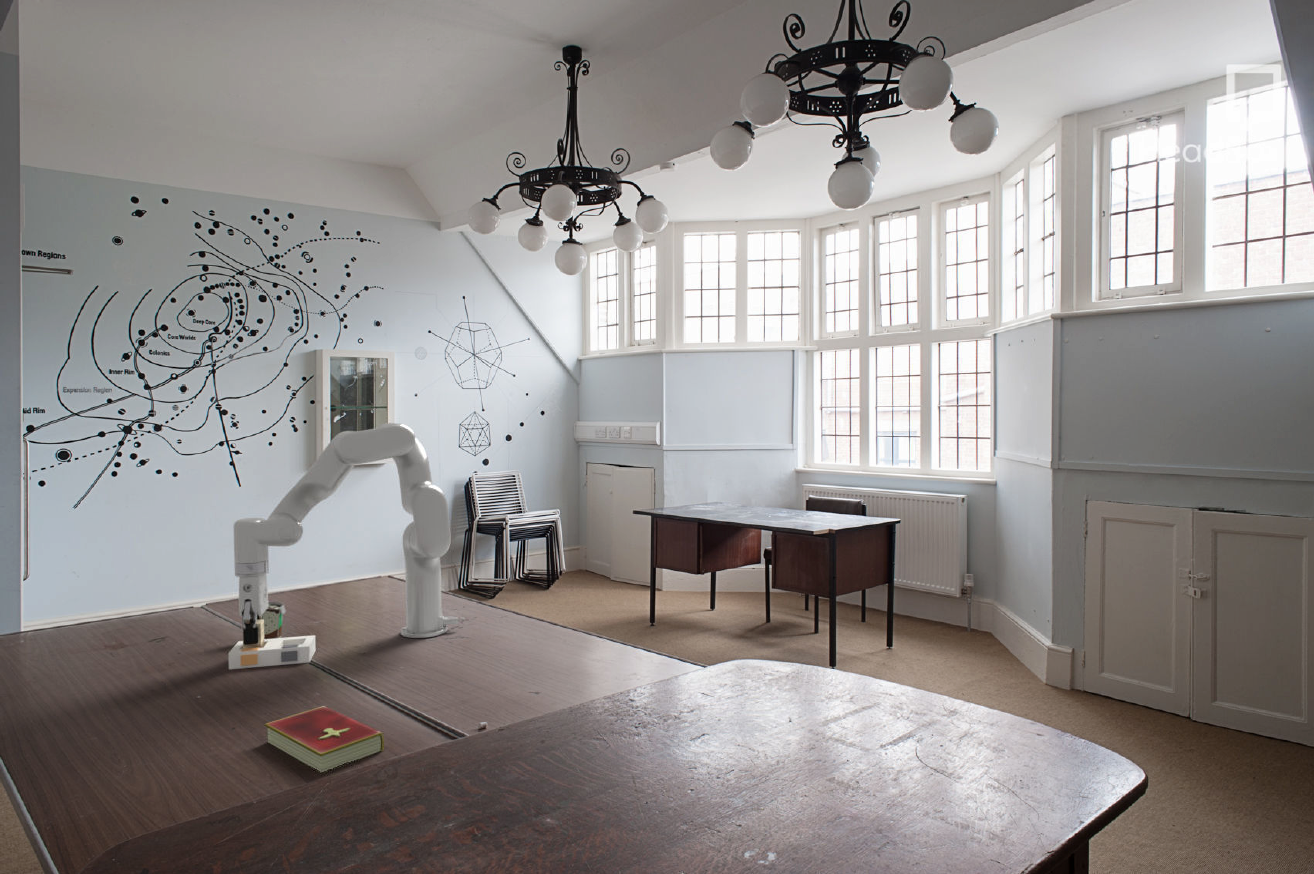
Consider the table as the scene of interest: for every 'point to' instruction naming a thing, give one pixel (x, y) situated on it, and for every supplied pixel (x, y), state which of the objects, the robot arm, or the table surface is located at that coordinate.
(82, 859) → the table surface
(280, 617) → the food container
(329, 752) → the hardcover book
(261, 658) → the socket block
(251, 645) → the plug
